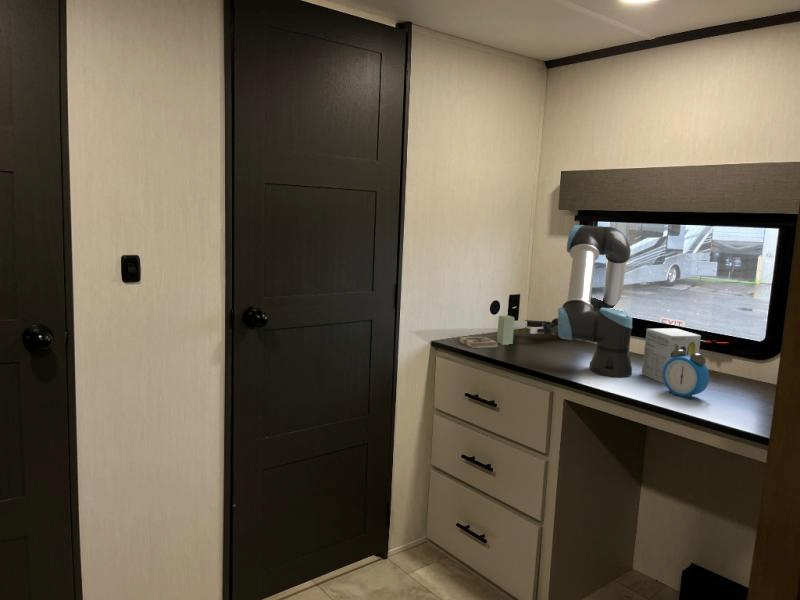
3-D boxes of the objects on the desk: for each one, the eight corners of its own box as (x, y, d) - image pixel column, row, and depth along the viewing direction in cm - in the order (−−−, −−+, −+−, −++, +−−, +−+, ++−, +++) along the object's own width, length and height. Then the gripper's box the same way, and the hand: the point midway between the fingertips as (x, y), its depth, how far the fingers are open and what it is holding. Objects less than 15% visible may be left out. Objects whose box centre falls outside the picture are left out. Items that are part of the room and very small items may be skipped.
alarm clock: (659, 391, 204) (664, 347, 202) (670, 388, 208) (675, 346, 206) (697, 402, 194) (703, 356, 191) (707, 399, 197) (713, 354, 195)
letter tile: (497, 347, 259) (497, 342, 259) (472, 347, 255) (472, 343, 255) (484, 340, 270) (484, 336, 270) (459, 341, 266) (460, 337, 266)
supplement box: (664, 384, 213) (670, 335, 211) (640, 374, 226) (645, 328, 223) (696, 383, 217) (702, 335, 214) (670, 373, 229) (676, 327, 227)
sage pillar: (512, 344, 266) (514, 317, 264) (502, 344, 264) (504, 317, 262) (506, 342, 270) (508, 315, 269) (496, 342, 269) (498, 315, 267)
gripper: (578, 340, 266) (536, 341, 258) (546, 328, 289) (507, 329, 281) (580, 323, 265) (538, 324, 257) (547, 313, 288) (508, 314, 280)
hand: (522, 327), depth 269 cm, fingers open, 13 cm apart
